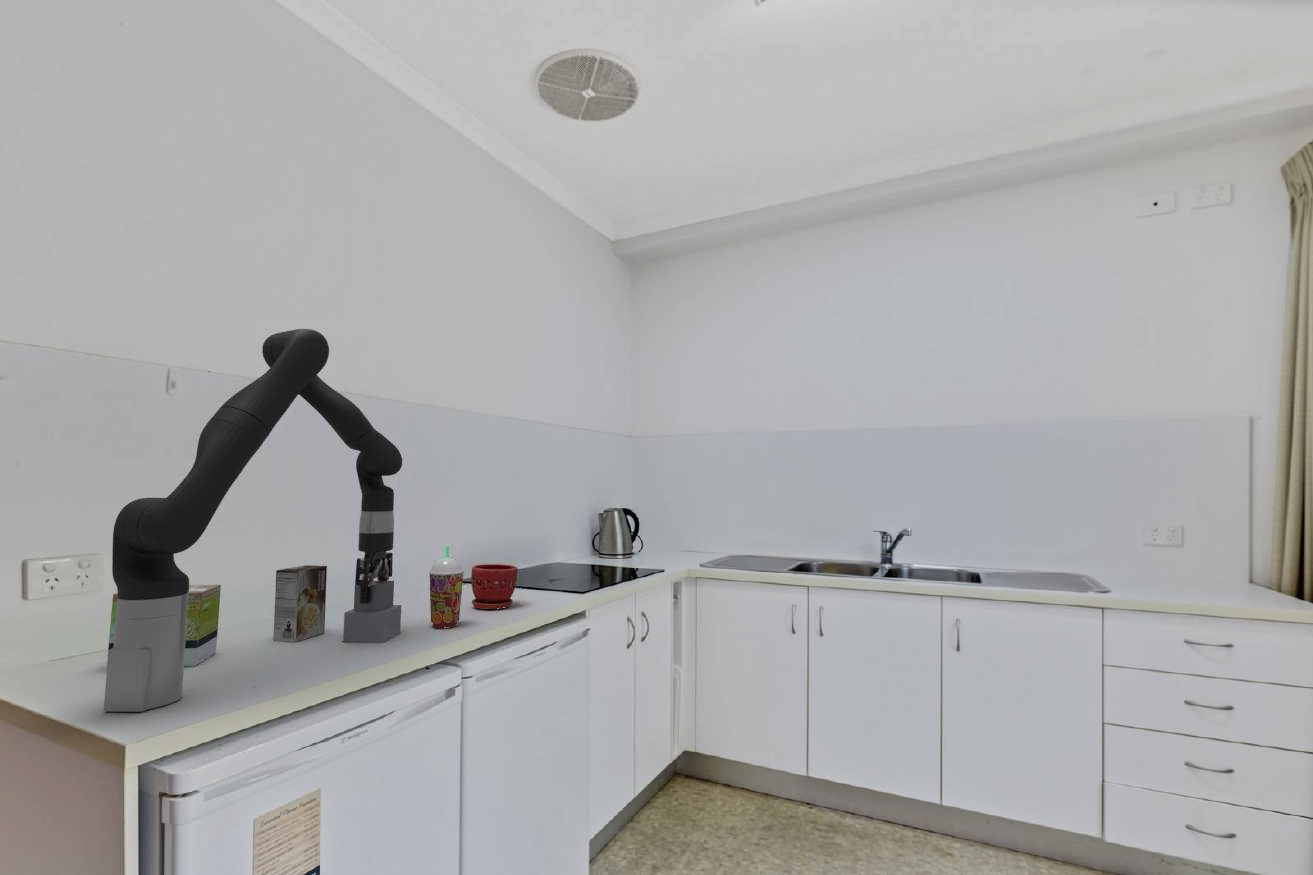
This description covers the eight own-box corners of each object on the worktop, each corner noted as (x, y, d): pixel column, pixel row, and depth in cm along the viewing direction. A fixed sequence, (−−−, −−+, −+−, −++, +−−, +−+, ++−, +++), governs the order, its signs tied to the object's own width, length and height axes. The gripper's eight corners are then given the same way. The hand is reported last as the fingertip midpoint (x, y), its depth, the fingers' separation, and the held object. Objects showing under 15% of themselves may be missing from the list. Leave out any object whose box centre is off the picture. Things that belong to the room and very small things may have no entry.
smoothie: (420, 628, 154) (423, 547, 156) (439, 621, 162) (442, 544, 164) (450, 631, 152) (453, 548, 154) (468, 623, 160) (470, 545, 162)
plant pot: (483, 613, 173) (484, 570, 174) (462, 606, 183) (463, 565, 184) (524, 607, 182) (525, 566, 183) (502, 601, 192) (503, 562, 193)
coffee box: (302, 631, 150) (305, 564, 152) (325, 633, 149) (328, 565, 150) (271, 641, 141) (275, 569, 143) (295, 642, 140) (299, 570, 141)
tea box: (104, 672, 117) (110, 593, 118) (133, 658, 127) (138, 584, 128) (196, 667, 121) (201, 590, 123) (217, 653, 131) (222, 582, 132)
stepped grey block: (383, 642, 141) (386, 586, 142) (343, 642, 141) (345, 585, 142) (400, 632, 150) (402, 579, 151) (362, 632, 150) (364, 579, 151)
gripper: (379, 532, 140) (376, 606, 139) (404, 528, 154) (401, 594, 153) (346, 532, 140) (342, 605, 139) (374, 528, 154) (371, 594, 153)
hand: (373, 600), depth 146 cm, fingers open, 8 cm apart
